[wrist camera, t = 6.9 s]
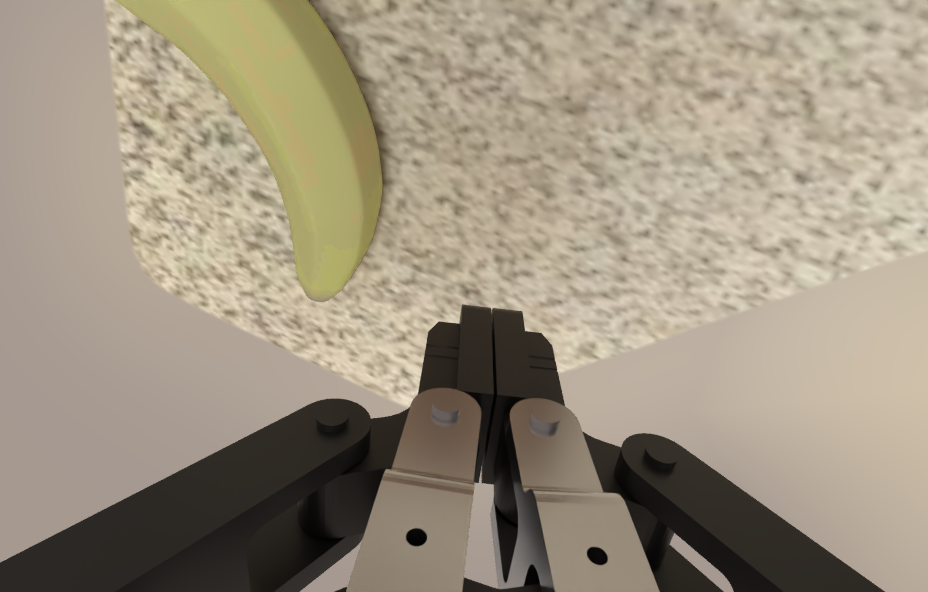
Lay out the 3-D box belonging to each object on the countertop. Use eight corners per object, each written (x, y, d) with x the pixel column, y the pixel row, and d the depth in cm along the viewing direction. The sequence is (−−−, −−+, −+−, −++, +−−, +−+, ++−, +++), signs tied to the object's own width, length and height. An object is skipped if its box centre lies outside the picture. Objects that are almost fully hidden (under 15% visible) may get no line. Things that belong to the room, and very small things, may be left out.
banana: (472, 86, 25) (66, -210, 22) (443, 121, 21) (-69, -242, 18) (351, 279, 33) (38, 79, 30) (311, 335, 29) (-61, 106, 26)
